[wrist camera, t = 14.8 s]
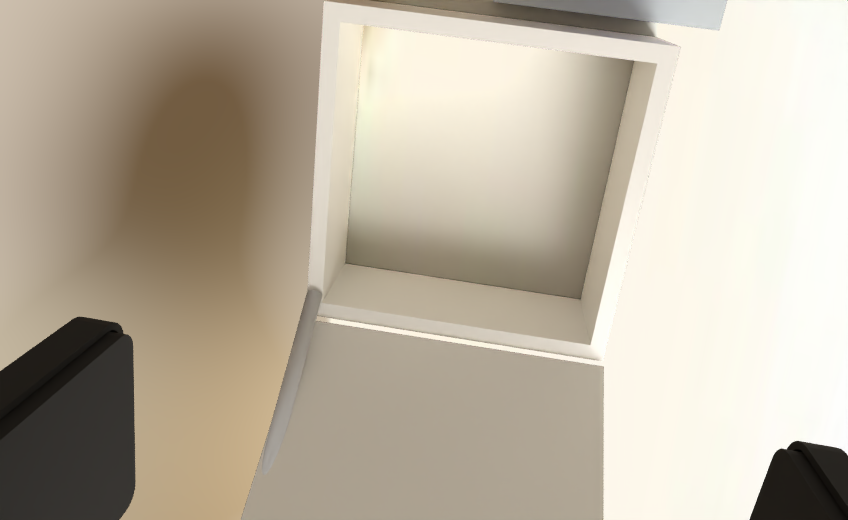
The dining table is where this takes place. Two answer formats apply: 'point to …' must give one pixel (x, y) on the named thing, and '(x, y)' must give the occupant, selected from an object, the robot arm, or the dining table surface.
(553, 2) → the mat
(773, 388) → the dining table surface
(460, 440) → the case
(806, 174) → the dining table surface
